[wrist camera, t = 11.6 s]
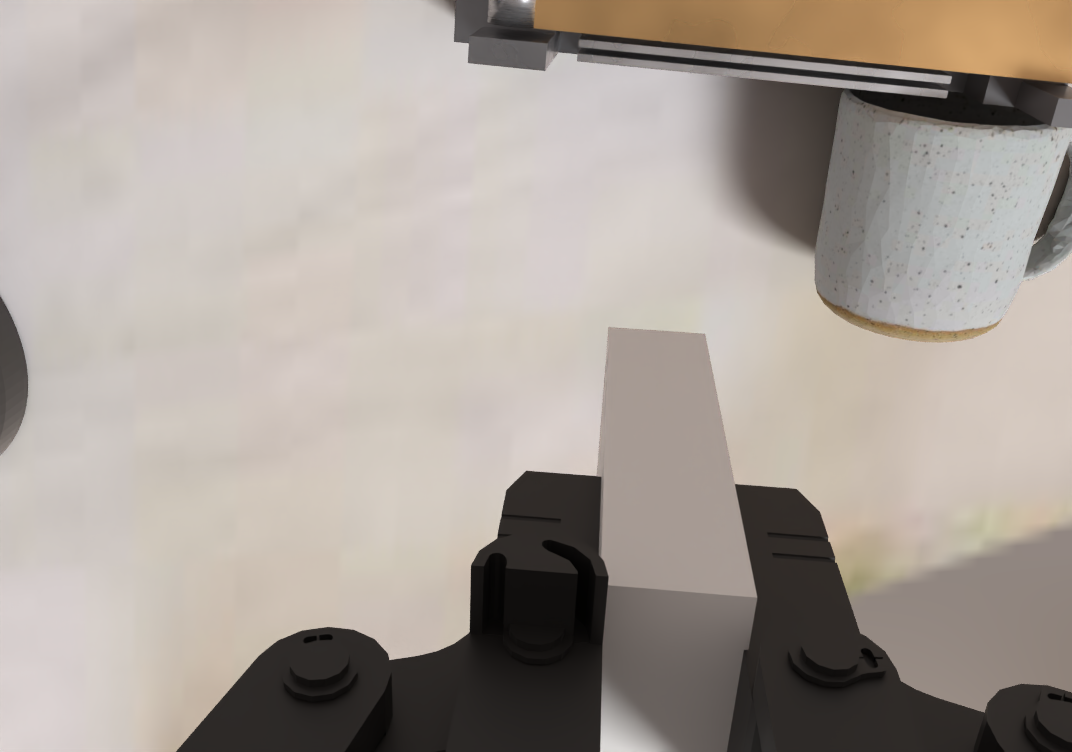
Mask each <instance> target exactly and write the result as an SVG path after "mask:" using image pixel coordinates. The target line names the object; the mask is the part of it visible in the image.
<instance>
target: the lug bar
mask: <svg viewBox="0 0 1072 752" xmlns="http://www.w3.org/2000/svg"><path fill="white" fill-rule="evenodd" d="M964 93H965V94H967V95H968V96H970V97H972V98H974V99H975V100H977V101H979V102H981V103H982V104H990V105H999V106H1009V107H1016V108H1017V109H1019V110H1021V111H1023V112H1025V113H1027V114H1029V115H1031V116H1032V117H1034V118H1036V119H1038V120H1040V121H1042V122H1044V123H1045V124H1047V125H1049V126H1053V127H1063V128H1072V88H1071V87H1069V86H1068V83H1061V82H1052V81H1042V80H1032V79H1023V78H1013V77H1003V76H993V75H984V74H974V73H969V74H968V78H967V82H966V86H965V90H964Z"/></svg>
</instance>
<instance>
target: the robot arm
mask: <svg viewBox="0 0 1072 752" xmlns="http://www.w3.org/2000/svg"><path fill="white" fill-rule="evenodd" d="M27 396H28V375H27V366H26V360H25V355H24V351H23V347H22V344H21V341H20V338H19V335H18V332H17V330H16V327H15V325H14V322H13V320H12V318H11V316H10V314H9V312H8V310H7V308H6V307H5V305H4V303H3V301H2V300H1V298H0V455H1V454H2V453H3V452H4V451H5V450H6V449H7V447H8V446H9V445H10V443H11V442H12V441H13V439H14V437H15V436H16V434H17V432H18V430H19V427H20V425H21V423H22V420H23V417H24V413H25V409H26V403H27ZM176 752H1072V693H1071V692H1068V691H1065V690H1061V689H1058V688H1054V687H1051V686H1046V685H1029V684H1020V685H1016V686H1012V687H1009V688H1005V689H1002V690H999V691H998V692H997V694H996V695H995V696H994V697H993V698H992V699H991V700H990V701H989V702H988V704H987V707H986V710H985V713H984V712H980V711H977V710H974V709H971V708H967V707H964V706H961V705H958V704H955V703H951V702H948V701H945V700H942V699H939V698H936V697H933V696H931V695H928V694H925V693H923V692H921V691H918V690H916V689H914V688H912V687H910V686H908V685H906V684H905V683H903V682H901V681H900V678H899V675H898V672H897V670H896V668H895V666H894V665H893V663H892V662H891V660H890V659H889V657H888V655H887V654H886V652H885V651H884V650H882V649H881V648H880V647H879V646H877V645H876V644H875V643H873V642H872V641H871V640H870V639H869V638H867V637H866V636H864V635H862V634H860V632H859V629H858V626H857V622H856V619H855V617H854V614H853V610H852V607H851V604H850V601H849V598H848V595H847V592H846V589H845V586H844V583H843V580H842V577H841V574H840V571H839V568H838V565H837V563H835V556H834V553H833V550H832V547H831V544H830V542H828V535H827V532H826V529H825V526H824V523H823V520H822V517H821V514H820V512H819V511H818V510H817V509H816V508H815V507H814V506H813V505H812V504H811V503H810V502H809V501H808V500H807V499H806V498H805V497H804V496H803V495H802V494H801V493H800V492H799V491H798V490H797V489H790V488H777V487H764V486H751V485H738V484H735V483H734V478H733V473H732V467H731V462H730V457H729V452H728V447H727V442H726V437H725V432H724V427H723V422H722V417H721V412H720V407H719V402H718V397H717V392H716V387H715V382H714V377H713V372H712V367H711V362H710V357H709V351H708V346H707V341H706V336H705V334H699V333H685V332H670V331H656V330H641V329H627V328H612V327H609V328H608V341H607V353H606V366H605V378H604V391H603V403H602V416H601V428H600V441H599V453H598V466H597V476H586V475H573V474H560V473H547V472H534V471H526V472H525V473H524V474H523V475H522V476H521V477H520V478H519V479H517V480H516V481H515V482H514V483H513V484H512V485H511V486H510V487H509V488H508V489H507V490H506V495H505V500H504V505H503V510H502V517H501V520H500V525H499V530H498V538H497V539H496V540H495V541H493V542H492V543H490V544H489V545H487V546H486V547H484V548H483V549H481V550H480V551H479V553H478V554H477V556H476V558H475V560H474V561H473V563H472V565H471V599H470V632H469V634H467V635H466V636H465V637H463V638H462V639H460V640H459V641H458V642H456V643H455V644H453V645H451V646H448V647H446V648H444V649H441V650H439V651H437V652H432V653H428V654H424V655H420V656H415V657H408V658H401V659H395V660H389V657H388V653H387V652H386V651H385V650H384V649H383V648H382V647H381V646H380V645H379V644H378V643H377V641H376V640H375V639H373V638H371V637H368V636H366V635H364V634H362V633H359V632H357V631H355V630H350V629H341V628H332V627H325V628H318V629H311V630H304V631H300V632H298V633H295V634H293V635H291V636H288V637H286V638H283V639H281V640H278V641H277V642H276V643H274V644H273V645H272V646H271V647H269V648H268V649H267V650H266V651H264V652H263V653H262V654H261V655H260V656H258V658H257V659H256V660H255V661H254V662H253V663H252V665H251V666H250V667H249V668H248V669H247V670H246V671H245V673H244V674H243V675H242V676H241V677H240V678H239V680H238V681H237V682H236V683H235V684H234V685H233V686H232V688H231V689H230V690H229V691H228V692H227V693H226V695H225V696H224V697H223V698H222V699H221V700H220V702H219V703H218V704H217V705H216V706H215V707H214V708H213V710H212V711H211V712H210V713H209V714H208V715H207V717H206V718H205V719H204V720H203V721H202V722H201V723H200V725H199V726H198V727H197V728H196V729H195V730H194V732H193V733H192V734H191V735H190V736H189V737H188V738H187V740H186V741H185V742H184V743H183V744H182V745H181V747H180V748H179V749H178V750H177V751H176Z"/></svg>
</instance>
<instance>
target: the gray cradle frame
mask: <svg viewBox="0 0 1072 752" xmlns="http://www.w3.org/2000/svg"><path fill="white" fill-rule="evenodd" d="M488 4H489V0H456V9H455V32H454V42H462V43H469V54H468V63H473V64H483V65H493V66H503V67H513V68H522V69H532V70H542V71H545V70H546V69H547V67H548V66H549V65H550V63H551V62H552V60H553V59H554V58H555V56H556V55H557V53H558V52H562V53H572V54H578V57H577V61H581V62H590V63H600V64H610V65H620V66H630V67H640V68H650V69H660V70H670V71H680V72H690V73H700V74H710V75H720V76H730V77H740V78H750V79H759V80H769V81H779V82H789V83H799V84H809V85H819V86H829V87H839V88H849V89H859V90H869V91H879V92H889V93H899V94H909V95H918V96H928V97H938V98H947V94H948V91H951V92H961V93H964V90H965V86H966V82H967V78H968V74H969V73H964V72H955V71H945V70H935V69H925V68H916V67H906V66H896V65H886V64H877V63H867V62H857V61H848V60H838V59H828V58H818V57H809V56H799V55H789V54H780V53H770V52H760V51H750V50H741V49H731V48H721V47H711V46H702V45H692V44H682V43H673V42H663V41H653V40H643V39H634V38H624V37H614V36H605V35H595V34H585V33H575V32H566V31H556V30H546V29H536V28H517V27H507V26H500V25H494V24H490V23H488V22H487V21H488Z"/></svg>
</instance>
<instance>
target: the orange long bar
mask: <svg viewBox="0 0 1072 752" xmlns="http://www.w3.org/2000/svg"><path fill="white" fill-rule="evenodd" d="M487 22H488V23H490V24H494V25H500V26H507V27H517V28H536V29H546V30H556V31H566V32H575V33H585V34H595V35H605V36H614V37H624V38H634V39H643V40H653V41H663V42H673V43H682V44H692V45H702V46H711V47H721V48H731V49H741V50H750V51H760V52H770V53H780V54H789V55H799V56H809V57H818V58H828V59H838V60H848V61H857V62H867V63H877V64H886V65H896V66H906V67H916V68H925V69H935V70H945V71H955V72H964V73H974V74H984V75H993V76H1003V77H1013V78H1023V79H1032V80H1042V81H1052V82H1061V83H1071V84H1072V0H489V4H488V21H487Z"/></svg>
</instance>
